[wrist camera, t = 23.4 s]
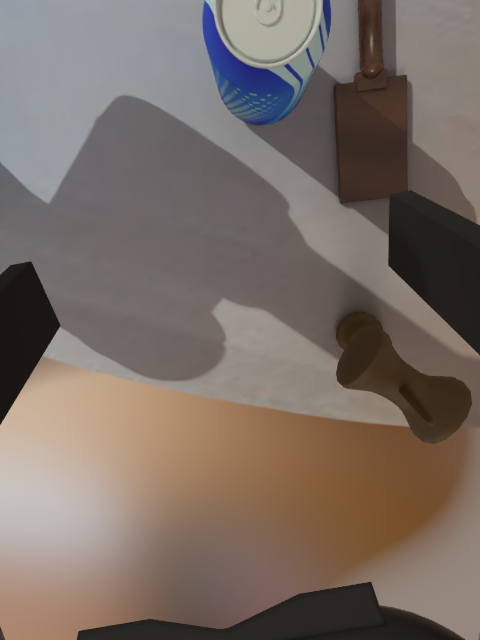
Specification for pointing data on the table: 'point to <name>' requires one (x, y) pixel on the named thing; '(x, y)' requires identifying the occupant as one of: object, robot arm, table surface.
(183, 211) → the table surface
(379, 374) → the kendama
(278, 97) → the beer can
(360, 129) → the spatula
